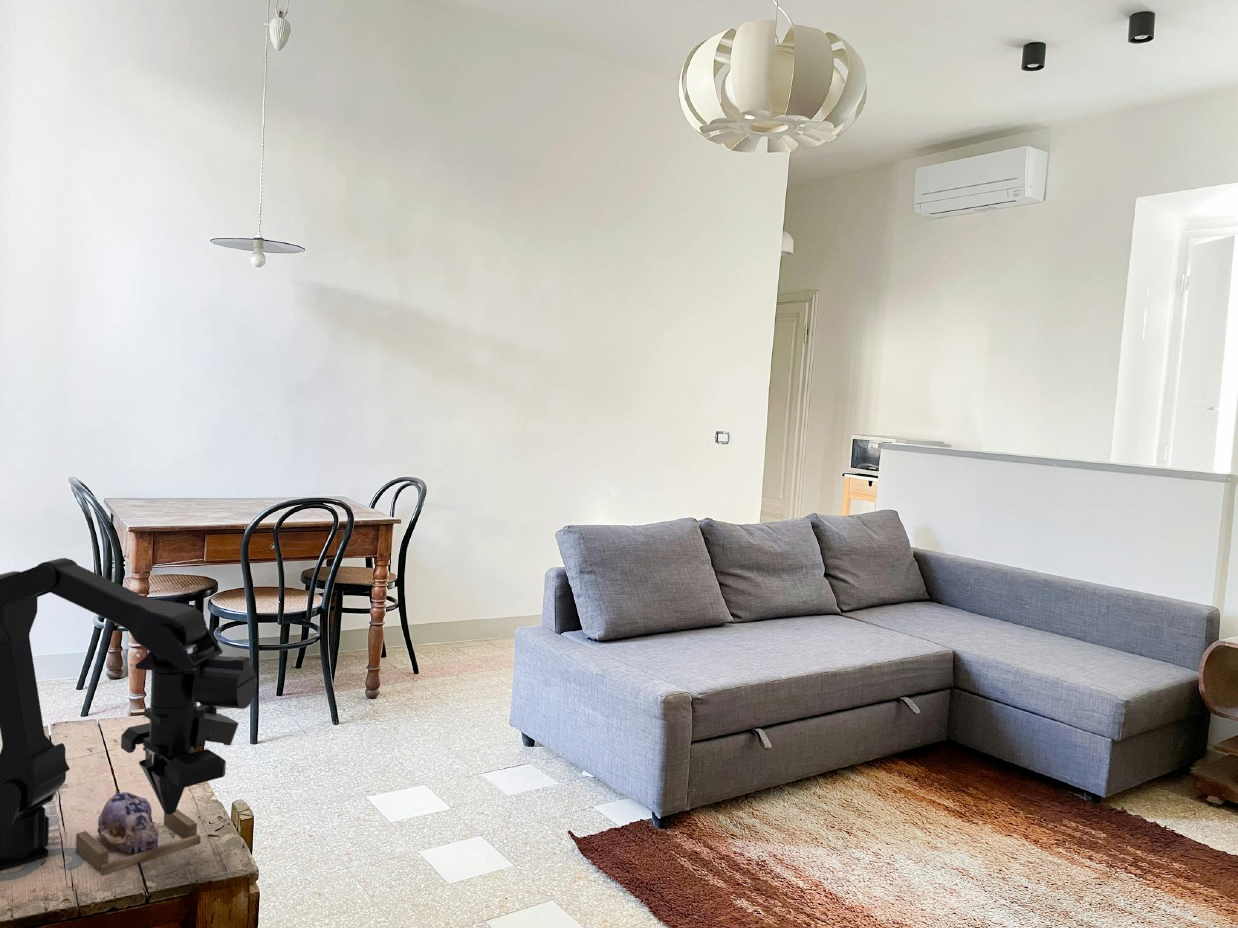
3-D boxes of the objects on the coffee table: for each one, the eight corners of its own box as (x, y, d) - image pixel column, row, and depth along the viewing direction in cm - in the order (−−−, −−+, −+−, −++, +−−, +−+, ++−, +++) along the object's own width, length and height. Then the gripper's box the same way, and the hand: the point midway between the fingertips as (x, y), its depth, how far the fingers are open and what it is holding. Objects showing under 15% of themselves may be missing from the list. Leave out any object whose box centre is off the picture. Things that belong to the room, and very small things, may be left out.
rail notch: (102, 874, 124) (102, 856, 124) (75, 850, 130) (76, 833, 130) (200, 842, 134) (201, 825, 134) (171, 821, 140) (172, 805, 140)
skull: (171, 852, 131) (172, 811, 131) (111, 868, 126) (112, 825, 126) (148, 821, 140) (149, 782, 140) (91, 834, 135) (92, 793, 135)
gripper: (265, 706, 125) (260, 818, 126) (200, 674, 137) (196, 776, 138) (183, 725, 116) (178, 844, 117) (121, 689, 128) (117, 797, 129)
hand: (169, 812), depth 126 cm, fingers closed
